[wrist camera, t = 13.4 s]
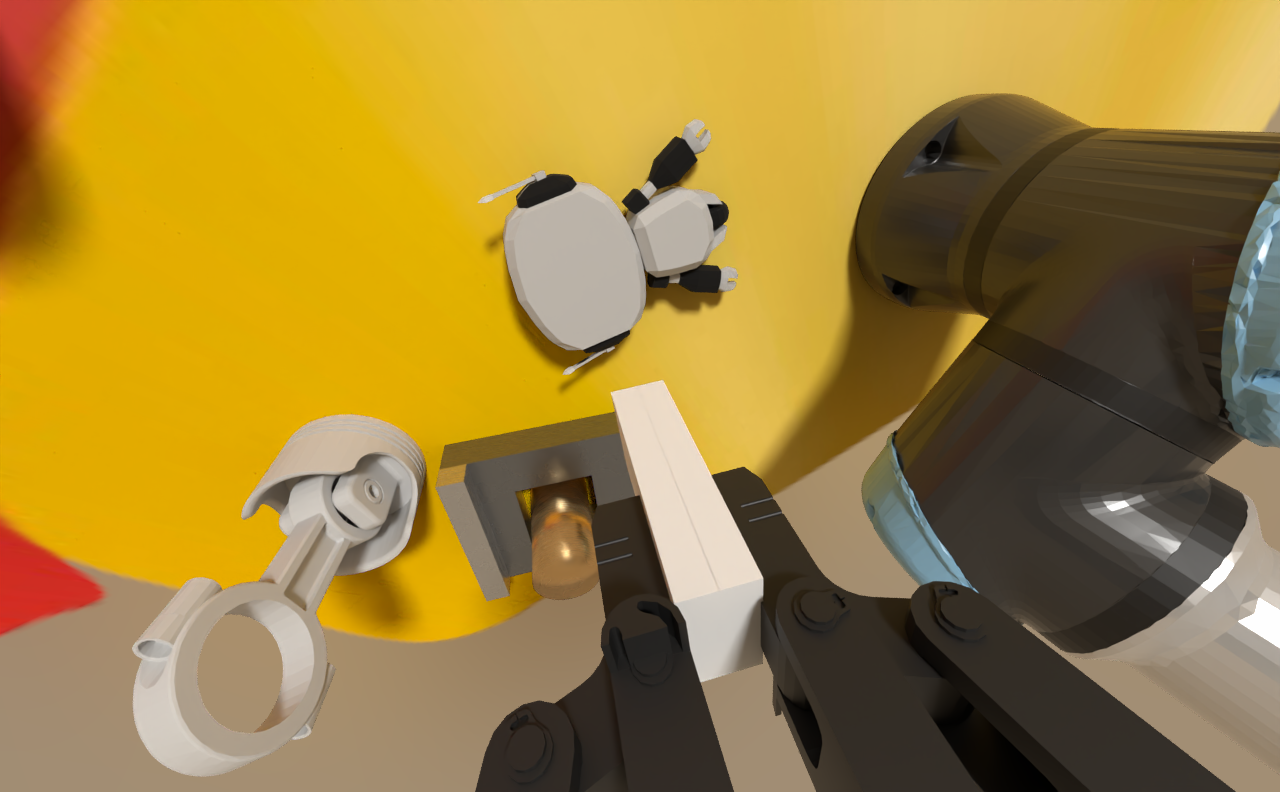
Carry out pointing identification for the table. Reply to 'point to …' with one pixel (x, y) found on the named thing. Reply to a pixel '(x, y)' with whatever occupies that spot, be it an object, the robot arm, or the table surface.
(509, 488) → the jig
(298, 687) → the engine component
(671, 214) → the robot toy
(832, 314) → the table surface
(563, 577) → the copper cylinder rod
